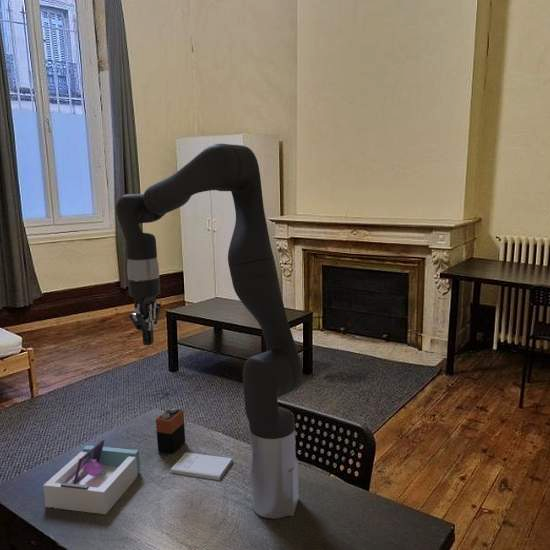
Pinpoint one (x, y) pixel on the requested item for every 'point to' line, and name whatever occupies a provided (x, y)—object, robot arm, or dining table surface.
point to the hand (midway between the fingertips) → (148, 344)
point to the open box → (88, 488)
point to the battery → (170, 430)
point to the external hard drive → (202, 466)
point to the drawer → (105, 465)
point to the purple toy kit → (91, 463)
